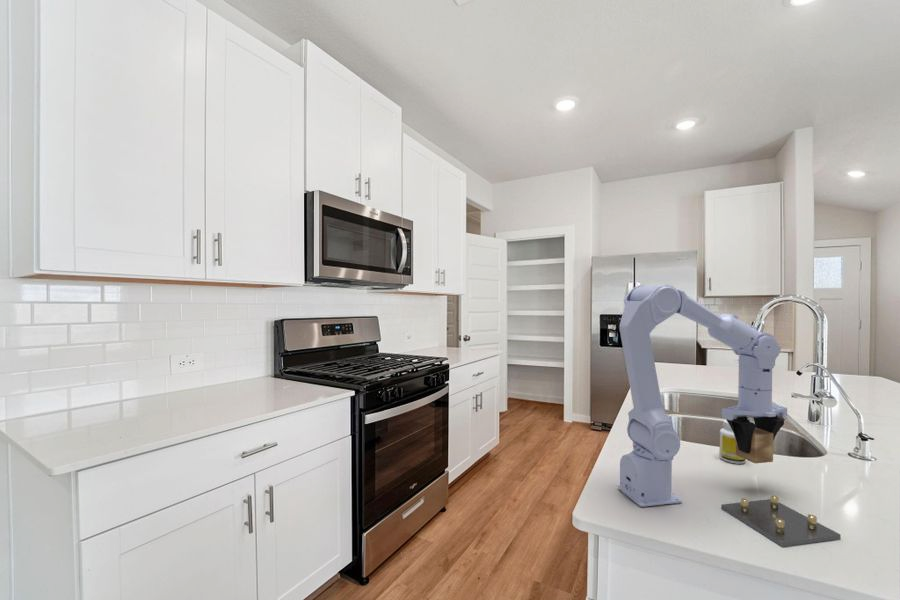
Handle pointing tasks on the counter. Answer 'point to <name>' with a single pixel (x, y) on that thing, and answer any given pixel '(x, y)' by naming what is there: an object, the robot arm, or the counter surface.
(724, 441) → the supplement bottle
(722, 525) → the counter surface
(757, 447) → the oak block
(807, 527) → the plate
